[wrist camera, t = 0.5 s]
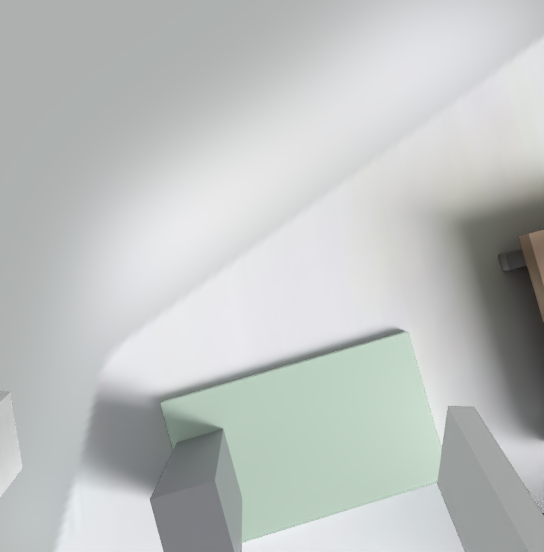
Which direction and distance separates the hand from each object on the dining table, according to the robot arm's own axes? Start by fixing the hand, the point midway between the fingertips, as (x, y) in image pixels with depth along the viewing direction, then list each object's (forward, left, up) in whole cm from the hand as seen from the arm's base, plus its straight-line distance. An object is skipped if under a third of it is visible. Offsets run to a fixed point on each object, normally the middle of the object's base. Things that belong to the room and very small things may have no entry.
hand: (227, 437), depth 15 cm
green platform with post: (-9, -4, -29) cm, 30 cm away
